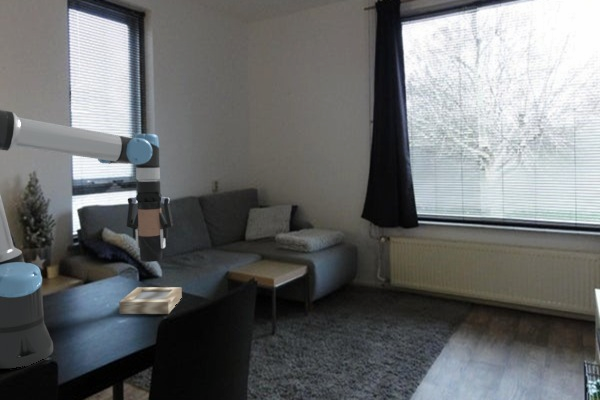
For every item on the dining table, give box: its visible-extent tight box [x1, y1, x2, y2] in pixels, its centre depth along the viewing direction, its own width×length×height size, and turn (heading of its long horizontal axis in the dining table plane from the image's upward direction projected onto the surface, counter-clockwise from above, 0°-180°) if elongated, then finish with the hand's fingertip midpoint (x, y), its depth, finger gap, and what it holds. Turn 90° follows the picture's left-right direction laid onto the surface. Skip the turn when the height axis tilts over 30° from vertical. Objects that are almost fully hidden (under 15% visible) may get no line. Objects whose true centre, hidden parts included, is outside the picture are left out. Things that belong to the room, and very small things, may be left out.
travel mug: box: [137, 200, 163, 263], centre depth 149 cm, size 8×8×20 cm
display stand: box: [118, 286, 183, 315], centre depth 152 cm, size 16×16×4 cm
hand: (151, 247), depth 150 cm, fingers closed on travel mug, 8 cm apart
